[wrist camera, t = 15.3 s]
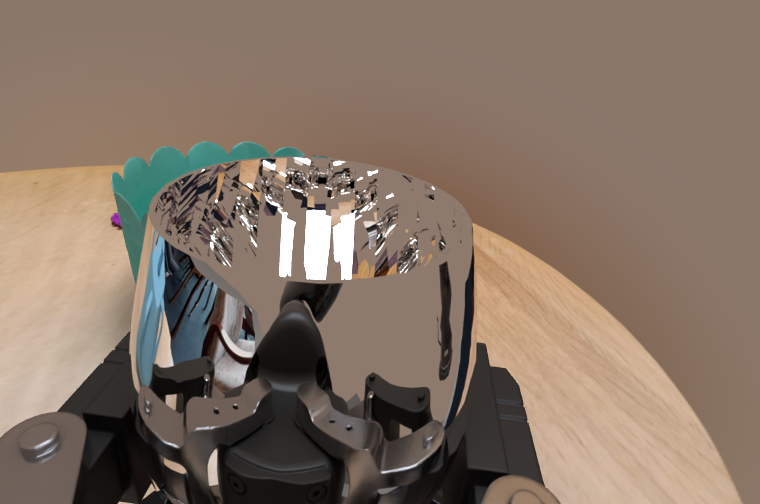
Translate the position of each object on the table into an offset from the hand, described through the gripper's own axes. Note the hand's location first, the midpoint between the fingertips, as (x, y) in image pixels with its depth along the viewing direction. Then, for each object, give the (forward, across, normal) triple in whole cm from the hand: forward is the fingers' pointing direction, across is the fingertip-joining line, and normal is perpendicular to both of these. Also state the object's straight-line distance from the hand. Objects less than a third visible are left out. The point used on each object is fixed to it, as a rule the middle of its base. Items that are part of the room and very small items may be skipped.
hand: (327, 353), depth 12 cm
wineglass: (-2, 0, +7) cm, 8 cm away
